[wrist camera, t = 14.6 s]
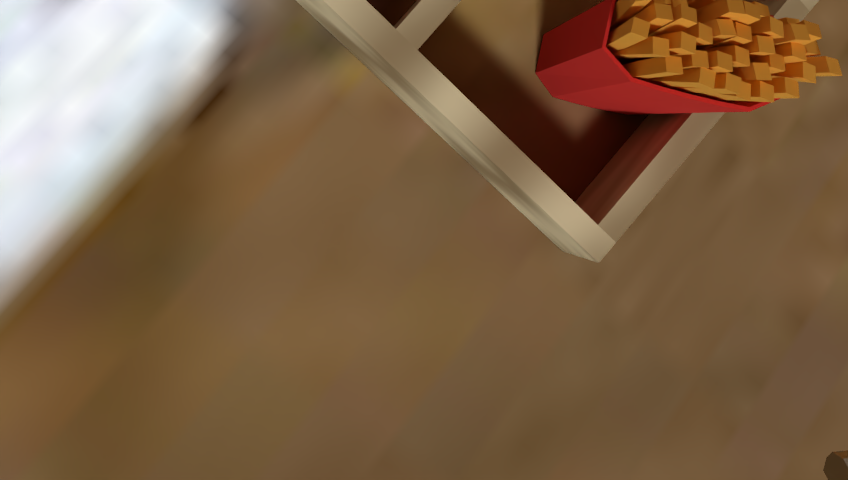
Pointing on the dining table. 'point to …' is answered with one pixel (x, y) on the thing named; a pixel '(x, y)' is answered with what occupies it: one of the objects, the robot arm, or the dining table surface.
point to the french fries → (680, 57)
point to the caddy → (496, 154)
